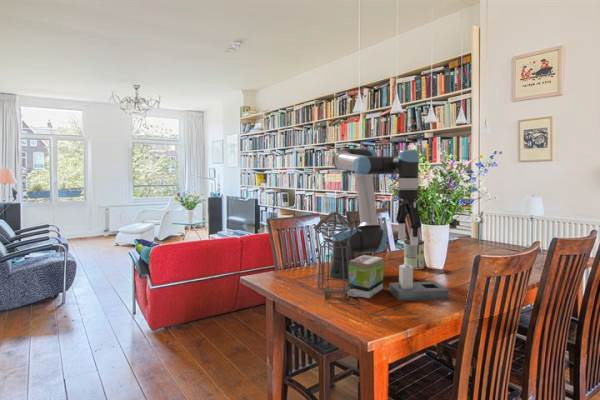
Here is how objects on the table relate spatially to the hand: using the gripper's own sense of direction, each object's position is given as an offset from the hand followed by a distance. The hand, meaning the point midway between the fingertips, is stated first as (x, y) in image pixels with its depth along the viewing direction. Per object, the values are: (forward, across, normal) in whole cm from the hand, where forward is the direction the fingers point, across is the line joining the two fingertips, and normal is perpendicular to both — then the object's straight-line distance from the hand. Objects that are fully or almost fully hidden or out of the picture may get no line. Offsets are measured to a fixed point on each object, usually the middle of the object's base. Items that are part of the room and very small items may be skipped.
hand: (407, 242), depth 151 cm
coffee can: (+23, +48, -22) cm, 57 cm away
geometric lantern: (+23, +5, +28) cm, 37 cm away
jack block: (+23, 0, -4) cm, 23 cm away
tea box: (+23, +7, +15) cm, 28 cm away
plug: (+22, 0, +1) cm, 22 cm away
